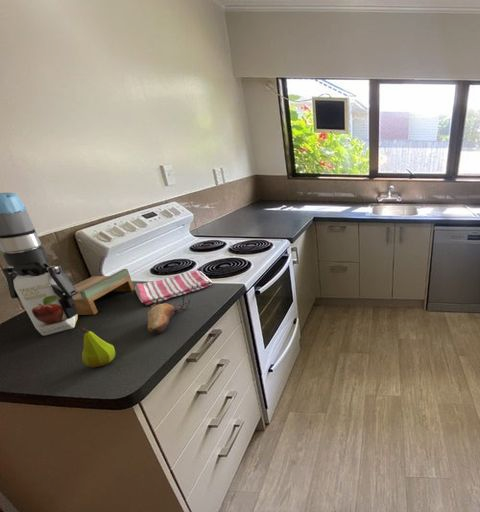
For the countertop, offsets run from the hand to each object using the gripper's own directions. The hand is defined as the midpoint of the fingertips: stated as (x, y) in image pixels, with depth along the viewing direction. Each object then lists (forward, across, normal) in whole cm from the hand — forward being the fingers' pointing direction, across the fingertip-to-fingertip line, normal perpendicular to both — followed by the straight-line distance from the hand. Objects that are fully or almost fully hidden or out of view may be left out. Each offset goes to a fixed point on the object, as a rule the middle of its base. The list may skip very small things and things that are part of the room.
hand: (55, 316), depth 89 cm
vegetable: (+4, -33, -1) cm, 33 cm away
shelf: (+4, +3, -16) cm, 17 cm away
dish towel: (+4, -20, -25) cm, 32 cm away
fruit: (+4, -27, +17) cm, 32 cm away
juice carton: (+4, 0, 0) cm, 4 cm away
